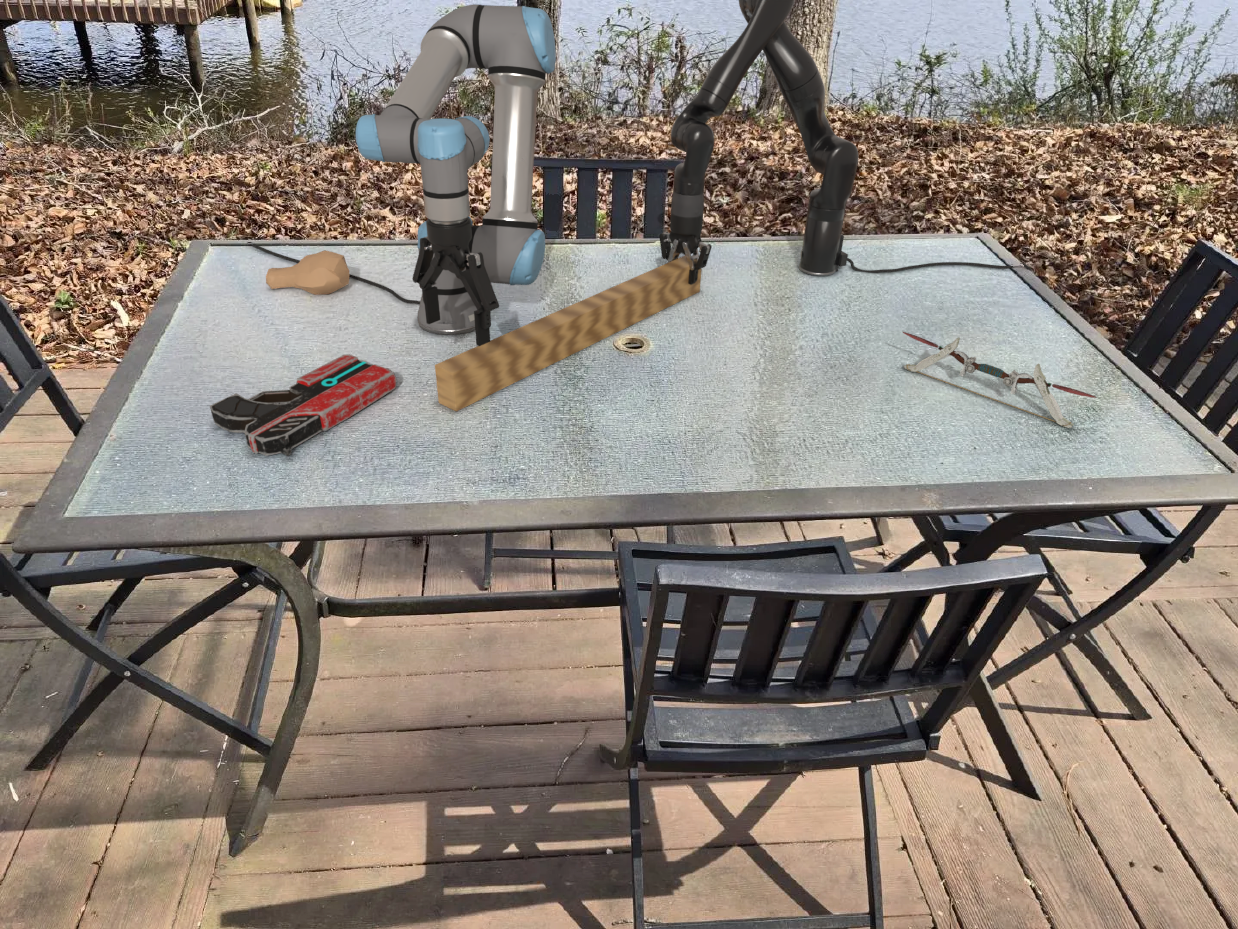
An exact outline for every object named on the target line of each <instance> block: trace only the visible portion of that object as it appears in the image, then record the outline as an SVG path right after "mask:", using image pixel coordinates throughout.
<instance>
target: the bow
mask: <svg viewBox="0 0 1238 929" xmlns="http://www.w3.org/2000/svg"><path fill="white" fill-rule="evenodd" d="M901 333H903V334H904V335H906V336H908V337H910V338H911V339H913V340H915V341H918V342H920V343H922V344H925V345H927V346H930V347H933V348H936V349H938V350H939V351H938V353H934V354H931V355H929V356H927V357H925V358H924V359H922V360H921V361H919V362H918V363H917V364H910V363H907V364H905V365H903V368H904V370H907V371H909V372H913V373H918V374H920V375H924V376H926V377H930V378H931V379H935V380H937V381H940V382H943V383H946V384H948V385H951V386H954V387H957V388H960V389H963V390H965V391H968V392H971V393H973V394H976V395H980V396H982V397H985V398H986V399H987V398H988V399H990V400H993V401H996V402H999V403H1002V404H1004V405H1007V406H1009V407H1012V408H1015V409H1018V410H1020V411H1023V412H1026V413H1029V414H1032V415H1034V416H1037V417H1040V418H1043V419H1046V420H1049V421H1051V422H1054V423H1056V424H1058V425H1060V426H1061V427H1063V428H1067V429H1071V428H1073V427H1074V425H1075V424H1074V423H1072V421H1070V420H1068V419H1067V418H1065V417H1064V416H1063V413H1062V410H1061V407H1060V406H1059V404H1058V401H1057V399H1056V398H1055V397H1054V395H1053V394H1052V393H1051V391H1050V389H1049V388H1050V387H1051V386H1052V388H1054V389H1057V390H1059V391H1063V392H1066V393H1068V394H1073V395H1077V396H1081V397H1087V398H1094V399H1096V398H1097V396H1096V395H1092V394H1090V393H1087V392H1084V391H1082V390H1079V389H1075V388H1073V387H1072V388H1071V387H1068V386H1065V385H1060V384H1055V383H1050V382H1048V381H1047V378H1046V376H1045V374H1044V373H1043V371H1042V368H1041V364H1040V363H1037V364H1036V365H1035V366H1034V369H1033V373H1032V375H1031V374H1029V373H1026V372H1022V373H1019V372H1017V370H1015V369H1014V370H1012V371H1011V372H1010V373H1007V372H1006V371H1005V370H1003V369H1002V368H999V367H996V366H994V365H991V364H988V363H977V362H976V361H977V357H976V356H974V357H973V356H970V357H969V356H968V354H967V353H965V352H964V351H961V350H956V349H957V348H958V347H959V344H960V340H961V337H957V338H956V339H954V340H953V341H952V342H951V343H947V344H946V345H945V346H944V347H943V346H941V345H938V344H937V343H935V342H932V341H930V340H928V339H925V338H923V337H921V336H917V335H914V334H912V333H909V332H905V331H903V330H902V332H901ZM951 356H952V357H953V358H954V359H955V360H956V361H957V362H959V363H960V364H962V365H963V366H962V369H961V370H960V373H959V374H958V376H960V377H964V376H966V373H968V374H973V373H975V371H979V372H981V373H984V374H987V375H990V376H993V377H995V378H998V379H1002V383H1003V385H1004V386H1006V387H1011V388H1010V394H1011V395H1015V394H1017V393H1018V384H1033V385H1034V386H1035V388H1036V389H1037V391H1038V392H1039V394H1040V396H1041V397H1042V399H1043V402H1044V404H1045V406H1046V408H1047V409H1048V412H1049V414H1050V415H1051V417H1052V418H1053V419H1051V418H1048V417H1046V416H1043V415H1040V414H1038V413H1034V412H1032V411H1029V410H1026V409H1023V408H1021V407H1018V406H1015V405H1012V404H1009V403H1007V402H1004V401H1001V400H998V399H995V398H993V397H991V396H988V395H984V394H982V393H979V392H976V391H973V390H971V389H968V388H965V387H963V386H960V385H956V384H954V383H951V382H949V381H946V380H943V379H941V378H938V377H935V376H932V375H929V374H927V373H924V372H921V371H922V370H924V369H925V370H926V369H928V368H929V367H931V366H933V365H934V364H936V363H938V362H940V361H942V360H944V359H947V358H949V357H951Z"/></svg>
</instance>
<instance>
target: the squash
mask: <svg viewBox="0 0 1238 929" xmlns="http://www.w3.org/2000/svg"><path fill="white" fill-rule="evenodd" d="M299 260H300V262H299V263H296V264H293V265H292V266H286V267H285V266H284V267H271V268H268V270H267V272H266V275H265V284H266V285H267V286H268V287H269V288H270V289H271V290H276V289H282V288H283V289H284V288H296V289H300V290H303V291H305V292H307V293H309V294H312V295H315V296H319V295H320V296H321V295H330V294H332V293H334V292H336V291H338V290H340V289H342V288H344V287H346V286H348V285H349V284H350V277H349V274H350V269H349V267H348V263H347V261H346V258H345V255H343V254H340V253H337V252H334V251H330V250H322V251H319V252H316V253H312V254H307V255H305V256H304V257H302V258H301V259H299Z"/></svg>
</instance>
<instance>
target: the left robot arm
mask: <svg viewBox="0 0 1238 929" xmlns="http://www.w3.org/2000/svg"><path fill="white" fill-rule="evenodd" d="M556 60H557V53H556V40H555V34H554V28H553V25H552V21H551V18H550V16H549V15H548V13H547V11H545V10H544V9H543V8H542V9H541V8H538V7H529V6H526V5H522V6H521V5H520V6H519V5H517V6H516V5H487V4H476V3H475V4H474V3H473V4H468V5H464V6H461V7H458V8H455V9H454V10H452V11H450V12H448V13H447V14H444V15H443V16H442V17H441V18H439V19H438V20H437V21H436V22H435V23H433V24H432V25H431V26H430V28H428V30H427V31H426V33H425V34H424V36H423V38H422V40H421V42H420V52H419V54H418V55H417V57H416V59H415V61H414V62H413V64H412V65H411V67H410V68H409V69H408V71H407V73H406V74H405V76H404V78H403V79H402V81H401V82H400V84H399V86H397V88H396V90H395V92H394V94H393V95H392V96H391V98H390V99H389V100H388V103H387V104H386V106H385V107H384V109H383V110H382V111H381V113H380V114H376V113H373V114H364V115H362V116H360V117H359V119H358V120H357V123H356V127H355V142H356V146H357V149H358V152H359V154H360V156H362V157H363V158H364V159H366V160H370V161H377V162H382V163H399V164H400V163H401V164H416V165H417V164H418V165H420V172H421V182H422V196H423V206H424V208H423V209H424V216H425V218H427V219H426V220H425V221H424V222H422V223H421V224H420V225H419V226H418V229H417V250H418V251H417V252H418V256H417V259H416V263H415V267H414V271H413V275H412V281H413V283H414V284H418V285H419V288H420V289H421V297H420V300H413V299H408V298H405V297H403V296H401V295H399V293H396V291H394V290H393V289H392V288H390V287H387V286H385V285H383V284H380V283H378V282H375V281H372V280H369V279H366V278H363V277H360V276H357V275H354V274H350V273H349V279H353V280H356V281H360V282H362V283H364V284H365V283H366V284H369V285H371V286H374V287H376V288H380V289H381V290H384V291H386V292H388V293H390V294H391V295H392V296H394V297H395V299H398V300H399V301H400V302H403V303H406V304H413V305H418V310H417V317H416V318H417V325H418V326H419V328H420V329H421V330H423V331H424V332H427V333H430V334H433V335H440V336H459V335H465V334H469V333H473V332H475V343H476V344H475V346H476V347H477V346H481V345H484V344H486V343H488V342H490V341H491V329H490V328H491V326H492V316H491V312H492V311H494V310H496V309H499V308H500V303H499V301H498V298H497V295H496V293H495V290H494V287H493V284H502V285H510V286H530V285H532V284H533V283H535V281H536V280H537V279H538V277H539V275H540V273H541V269H542V267H543V262H544V258H545V254H546V234H545V232H544V231H543V230H541V229H538V227H539V221H538V220H537V218H536V217H535V215H534V214H533V213H532V206H533V205H532V204H533V202H532V201H533V183H534V165H535V145H536V144H535V142H536V126H537V125H536V124H537V109H538V108H537V107H538V92H539V90H540V89H541V88H542V87H543V86H544V85H546V79H547V78H546V75H547V74H548V75H549V74H552V73H553V72H554V71H555V68H556V62H557V61H556ZM468 69H481V70H487V79H488V80H489V81H490V82H491V84H492V85H493V87H494V104H493V105H494V106H493V129H492V130H493V132H492V133H493V134H492V155H491V156H492V157H491V178H490V180H491V182H490V184H491V185H490V205H489V206H490V209H489V210H488V211H487V212H486V213H485V214H484V215H483V216H482V219H481V220H482V221H481V222H482V223H481V225H475V224H474V221H473V220H472V218H471V216H470V215H471V207H470V189H469V188H470V187H469V175H468V171H469V170H470V169H471V168H472V167H473V166H474V165H475V164H477V163H479V162H480V161H482V159H483V157H484V156H485V155H486V153H487V152H488V149H489V147H490V140H491V138H490V134H489V130H488V128H487V127H486V125H485V124H484V123H483V122H482V121H481V120H480V119H479V118H477V117H474V116H470V115H464V116H458V117H456V118H455V119H453V118H432V117H433V116H434V114H435V112H436V111H437V108H438V107H439V105H440V104H441V102H442V100H443V98H444V96H445V95H446V93H447V91H448V90H449V88H450V87H451V85H452V83H453V82H454V79H455V78H457V77H459V76H461V75H462V74H463V73H464V72H465V71H466V70H468ZM248 243H253V242H252V241H250V242H248V241H247V244H248ZM250 246H251V247H253V248H255V249H257V250H259V251H262V252H264V253H267V254H269V255H271V256H273V257H278V258H280V259H283V260H286V261H289V262H293V263H296V264H298V263H299V262H300V260H301V259H296V258H293V257H290V256H286V255H283V254H280V253H277V252H274V251H272V250H270V249H267V248H265V247H262V246H260V245H258V244H255V243H254V244H253V245H250Z"/></svg>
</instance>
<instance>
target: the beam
mask: <svg viewBox="0 0 1238 929" xmlns="http://www.w3.org/2000/svg"><path fill="white" fill-rule="evenodd" d="M702 269H703V268H701V269H699V270H698V280H697V281H696V282H695V283H694V284H692V285H691V284H688V280H689V270H690V267H689V262H688V261H687V259H686V255H683V256H681V257H680V256H679V257H678V259H676V260H673V261H671V262H669V263H668V262H666V263H664V264H662V265H659V266H658V267H657V266H656V267H655V268H653V269H651V270H648V271H646V272H643V273H641V274H639V275H636V276H634V277H631V278H630V279H628V280H625V281H623V282H620V283H619V284H616V285H613V286H612V287H609V288H607V289H605V290H603V291H600V292H598V293H596V294H593V295H591V296H589V297H586V298H584V299H581V300H579V301H578V302H575V303H572V304H570V305H569V306H566V307H564V308H562V309H561V308H560V309H559V310H557V311H555V312H552V313H550V314H548V315H546V316H543V317H541V318H539V319H536V320H533V321H531V322H529V323H527V324H525V325H523V326H520V327H518V328H516V329H513V330H511V331H510V332H507V333H504V334H502V335H500V336H498V337H495V338H493V339H490V342H488V343H486V344H484V345H481V346H477V345H476V346H474V347H472V348H470V349H468V350H466V351H463V352H461V353H459V354H456V355H454V356H452V357H450V358H447V359H445V360H442V361H440V362H438V363H436V364H434V371H435V380H436V381H435V382H436V391H437V400H438V404H440V405H442V406H444V407H446V408H448V409H450V410H451V411H454V412H459V411H461V410H463V409H464V408H466V407H469V406H470V405H473V404H475V403H477V402H480V401H481V400H483V399H485V398H487V397H489V396H491V395H493V394H495V393H497V392H499V391H502V390H503V389H505V388H507V387H509V386H511V385H513V384H515V383H517V382H520V381H521V380H523V379H525V378H528V377H530V376H531V375H534V374H535V373H538V372H539V371H542V370H544V369H546V368H548V367H550V366H552V365H554V364H556V363H558V362H560V361H562V360H564V359H567V358H569V357H570V356H572V355H574V354H577V353H579V352H580V351H583V350H585V349H586V348H588V347H590V346H594V344H597V343H598V342H601V341H602V340H604V339H606V338H609V337H611V336H613V335H614V334H617V333H619V332H621V331H623V330H625V329H627V328H629V327H631V326H633V325H635V324H637V323H639V322H641V321H643V320H645V319H648V318H650V317H651V316H654V315H656V314H658V313H659V312H661V311H664V310H665V309H667V308H670V307H672V306H673V305H676V304H678V303H680V302H682V301H684V300H686V299H688V298H690V297H692V296H694V295H696V294H699V293H700V292H701V281H702Z"/></svg>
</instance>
